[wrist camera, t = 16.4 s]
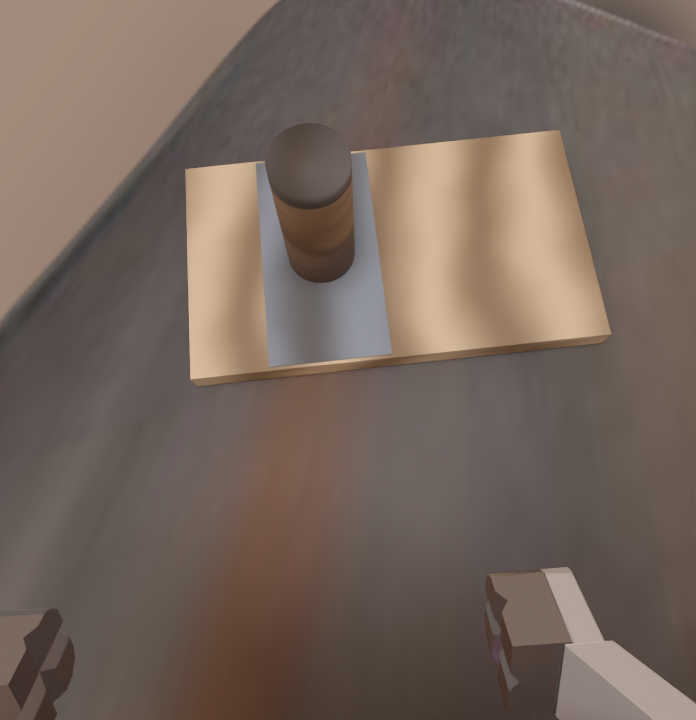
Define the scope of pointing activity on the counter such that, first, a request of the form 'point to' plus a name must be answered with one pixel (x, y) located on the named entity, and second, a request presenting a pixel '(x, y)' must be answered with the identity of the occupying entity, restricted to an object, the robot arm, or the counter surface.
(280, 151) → the peg
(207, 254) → the plywood board
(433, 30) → the counter surface
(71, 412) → the counter surface
